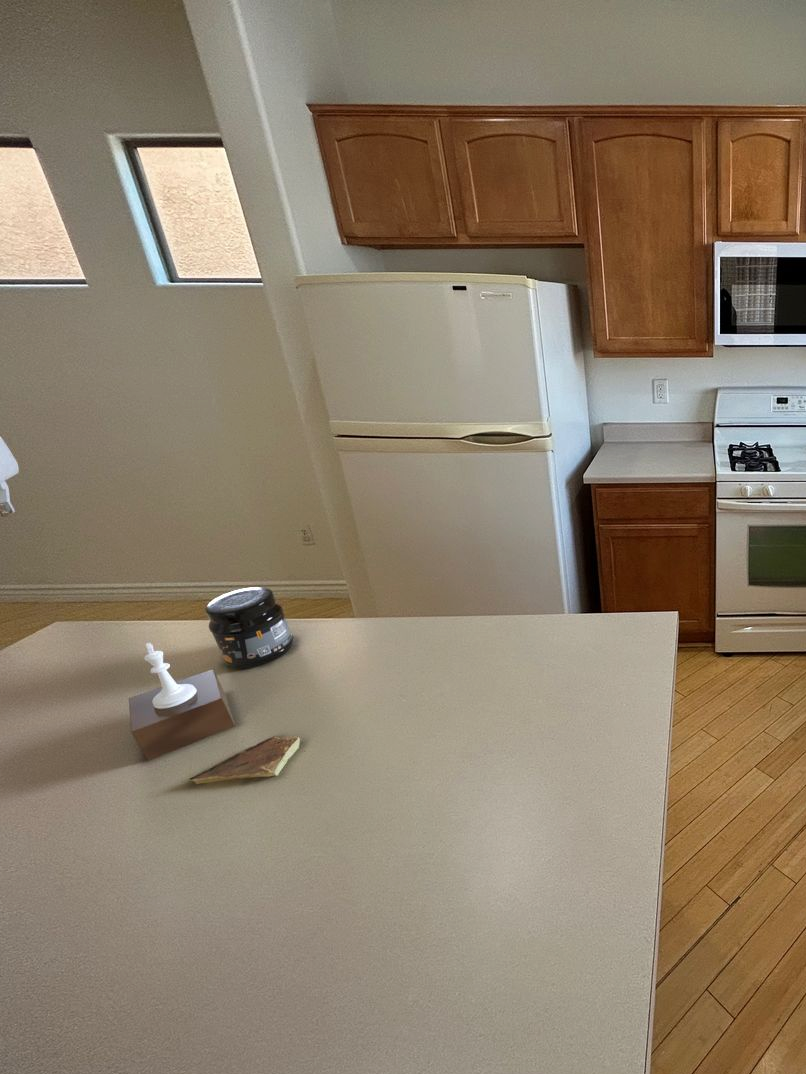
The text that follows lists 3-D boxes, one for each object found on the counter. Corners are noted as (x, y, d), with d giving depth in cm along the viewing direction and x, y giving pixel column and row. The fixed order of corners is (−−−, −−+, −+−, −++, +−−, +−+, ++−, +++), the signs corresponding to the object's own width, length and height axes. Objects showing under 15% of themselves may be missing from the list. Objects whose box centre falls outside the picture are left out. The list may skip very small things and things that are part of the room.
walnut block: (148, 763, 80) (130, 732, 78) (145, 727, 87) (128, 698, 84) (236, 727, 87) (221, 698, 84) (226, 697, 93) (213, 668, 91)
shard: (192, 787, 77) (187, 777, 76) (230, 745, 84) (225, 736, 83) (276, 780, 78) (272, 771, 77) (307, 740, 85) (303, 731, 84)
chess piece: (152, 713, 81) (122, 658, 77) (154, 696, 84) (125, 642, 80) (196, 698, 84) (170, 644, 80) (196, 682, 87) (170, 630, 83)
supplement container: (227, 650, 105) (203, 596, 100) (295, 632, 111) (275, 579, 106) (224, 679, 97) (198, 622, 92) (297, 658, 103) (276, 603, 98)
